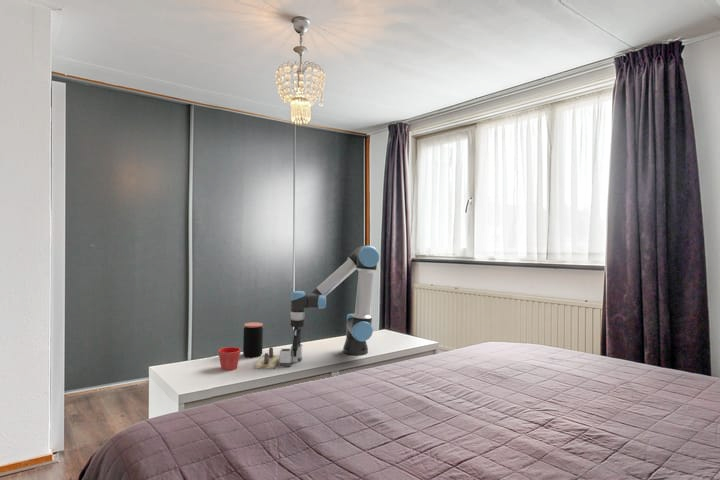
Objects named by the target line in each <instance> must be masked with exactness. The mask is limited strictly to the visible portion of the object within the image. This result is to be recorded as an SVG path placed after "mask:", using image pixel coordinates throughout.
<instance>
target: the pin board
mask: <svg viewBox="0 0 720 480" xmlns="http://www.w3.org/2000/svg"><path fill="white" fill-rule="evenodd" d="M279 363H280V354H279V355H277V354H276V355H275V354H274V348H273V347H269V349H268V352H265V354H264V355H261V356H260V358H259V360H258V361H257V362H256V364H255V366H254V369H257V368H270V370H275V369H274V368H277V366H278V364H279ZM271 368H273V369H271Z"/></svg>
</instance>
